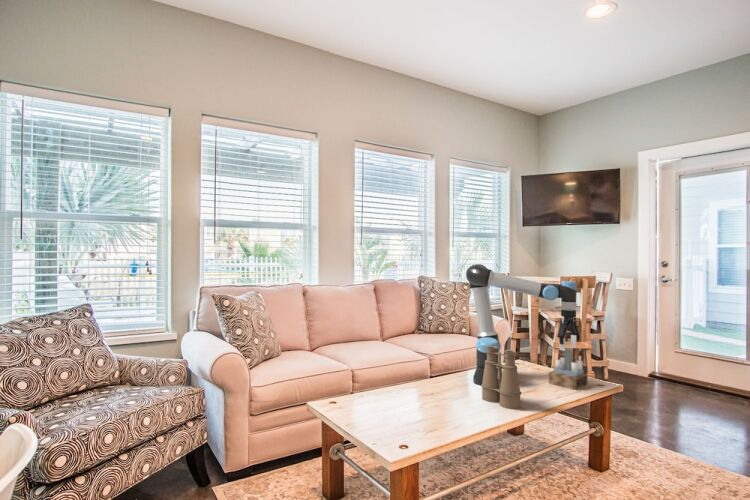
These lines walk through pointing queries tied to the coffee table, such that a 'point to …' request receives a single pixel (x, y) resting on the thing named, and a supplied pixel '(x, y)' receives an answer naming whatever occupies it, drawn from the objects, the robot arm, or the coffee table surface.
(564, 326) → the robot arm
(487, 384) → the binoculars
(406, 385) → the coffee table surface
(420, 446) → the coffee table surface
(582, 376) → the wooden u channel
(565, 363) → the pegged blue plate
